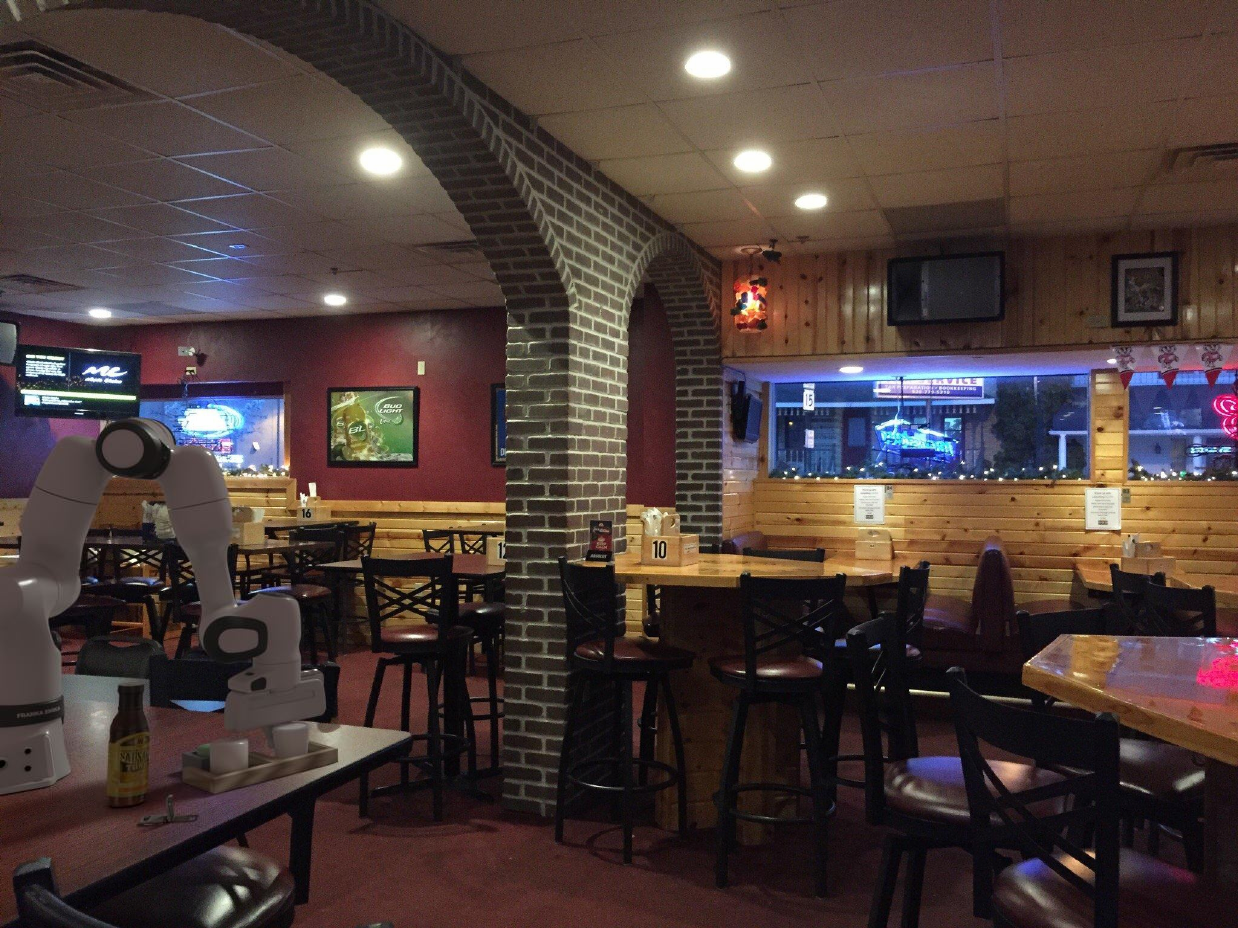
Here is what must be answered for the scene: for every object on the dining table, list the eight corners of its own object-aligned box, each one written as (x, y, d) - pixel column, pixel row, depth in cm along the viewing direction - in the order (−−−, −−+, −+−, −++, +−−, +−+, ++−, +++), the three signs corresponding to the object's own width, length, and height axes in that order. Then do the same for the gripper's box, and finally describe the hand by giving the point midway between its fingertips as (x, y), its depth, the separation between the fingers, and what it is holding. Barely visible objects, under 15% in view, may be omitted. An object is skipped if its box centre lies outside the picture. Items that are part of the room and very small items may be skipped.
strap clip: (138, 828, 156) (138, 801, 156) (141, 821, 159) (142, 795, 159) (196, 823, 158) (196, 796, 158) (199, 817, 161) (199, 790, 161)
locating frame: (214, 793, 172) (214, 779, 172) (182, 781, 179) (182, 767, 179) (337, 761, 191) (337, 748, 191) (304, 751, 198) (304, 739, 198)
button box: (201, 777, 182) (201, 759, 182) (182, 770, 186) (182, 752, 186) (237, 768, 187) (237, 751, 187) (217, 761, 191) (217, 744, 191)
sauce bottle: (120, 811, 163) (121, 689, 163) (98, 804, 166) (99, 685, 167) (157, 800, 169) (157, 682, 169) (135, 794, 172) (136, 678, 172)
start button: (204, 765, 183) (204, 750, 183) (192, 761, 186) (192, 746, 186) (226, 760, 187) (227, 745, 187) (214, 756, 190) (214, 741, 190)
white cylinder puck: (221, 788, 175) (221, 748, 175) (203, 781, 179) (203, 742, 179) (255, 780, 180) (255, 741, 180) (236, 773, 184) (236, 735, 184)
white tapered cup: (300, 768, 187) (300, 730, 187) (265, 766, 188) (265, 729, 188) (316, 758, 194) (316, 721, 194) (282, 756, 195) (282, 720, 195)
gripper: (314, 665, 204) (313, 733, 204) (219, 681, 188) (219, 754, 188) (332, 669, 200) (332, 738, 200) (237, 685, 184) (237, 760, 184)
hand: (276, 746), depth 194 cm, fingers closed
